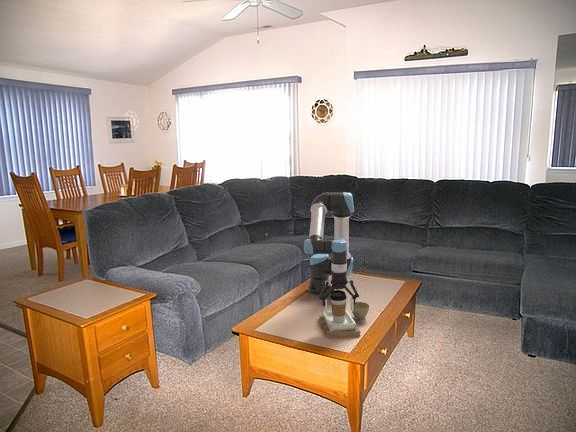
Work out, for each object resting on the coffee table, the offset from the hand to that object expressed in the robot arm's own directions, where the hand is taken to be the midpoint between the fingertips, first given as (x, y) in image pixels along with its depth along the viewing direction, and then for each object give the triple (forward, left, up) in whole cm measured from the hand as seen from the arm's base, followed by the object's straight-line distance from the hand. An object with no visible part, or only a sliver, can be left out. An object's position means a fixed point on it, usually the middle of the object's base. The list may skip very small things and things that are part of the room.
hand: (338, 311), depth 215 cm
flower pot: (-10, +14, -9) cm, 19 cm away
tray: (0, 0, -6) cm, 6 cm away
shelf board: (0, 0, -9) cm, 9 cm away
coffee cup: (0, 0, -5) cm, 5 cm away
